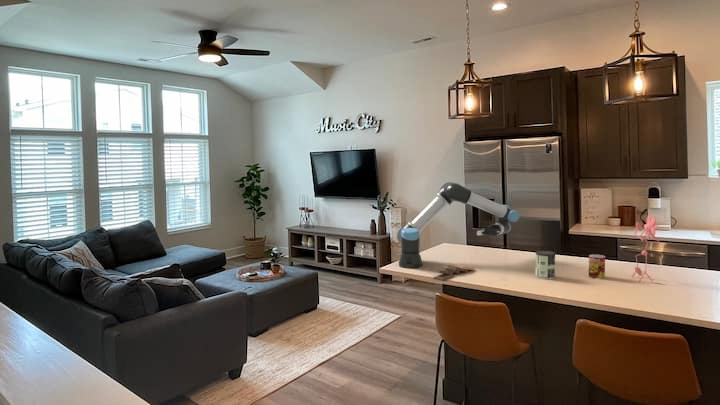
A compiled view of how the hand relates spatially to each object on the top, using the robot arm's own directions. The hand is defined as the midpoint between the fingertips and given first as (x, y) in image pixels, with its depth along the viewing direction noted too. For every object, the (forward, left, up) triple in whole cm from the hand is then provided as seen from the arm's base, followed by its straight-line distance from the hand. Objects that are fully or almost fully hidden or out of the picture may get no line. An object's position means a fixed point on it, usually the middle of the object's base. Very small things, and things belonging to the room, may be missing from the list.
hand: (478, 233), depth 266 cm
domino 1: (+4, -22, -20) cm, 30 cm away
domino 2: (+5, -28, -20) cm, 35 cm away
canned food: (+55, +35, -21) cm, 69 cm away
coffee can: (+39, +12, -21) cm, 46 cm away
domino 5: (+3, -9, -20) cm, 22 cm away
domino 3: (+7, -31, -21) cm, 38 cm away
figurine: (+74, +52, -21) cm, 93 cm away
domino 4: (+4, -15, -20) cm, 26 cm away
